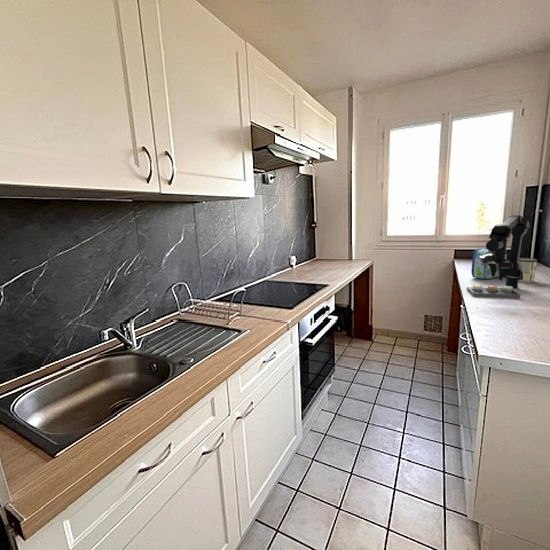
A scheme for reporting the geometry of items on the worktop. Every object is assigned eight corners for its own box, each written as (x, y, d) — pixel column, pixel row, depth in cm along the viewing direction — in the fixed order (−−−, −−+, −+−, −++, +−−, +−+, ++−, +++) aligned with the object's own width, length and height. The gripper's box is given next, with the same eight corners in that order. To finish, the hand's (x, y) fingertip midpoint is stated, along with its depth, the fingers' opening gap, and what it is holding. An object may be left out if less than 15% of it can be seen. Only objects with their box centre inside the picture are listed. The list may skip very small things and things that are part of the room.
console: (466, 291, 178) (466, 286, 178) (509, 293, 172) (509, 288, 171) (473, 298, 165) (473, 293, 165) (520, 300, 159) (520, 294, 158)
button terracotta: (486, 290, 171) (486, 285, 170) (495, 291, 170) (495, 285, 169) (488, 292, 167) (489, 287, 166) (498, 293, 165) (498, 287, 165)
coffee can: (513, 278, 206) (515, 257, 203) (532, 279, 201) (535, 258, 198) (514, 281, 198) (517, 259, 195) (535, 283, 192) (538, 260, 189)
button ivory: (471, 290, 173) (472, 284, 172) (480, 290, 172) (481, 285, 171) (473, 292, 169) (474, 286, 168) (483, 292, 168) (483, 286, 167)
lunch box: (489, 273, 223) (492, 244, 218) (506, 276, 213) (510, 246, 209) (468, 278, 211) (470, 248, 207) (484, 281, 202) (488, 249, 197)
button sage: (500, 291, 169) (501, 285, 168) (510, 291, 167) (511, 286, 167) (503, 293, 165) (504, 287, 164) (513, 293, 163) (514, 288, 163)
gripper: (475, 247, 173) (473, 274, 176) (489, 251, 156) (486, 281, 159) (498, 247, 170) (495, 274, 174) (515, 251, 153) (511, 282, 156)
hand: (496, 278), depth 166 cm, fingers open, 9 cm apart
